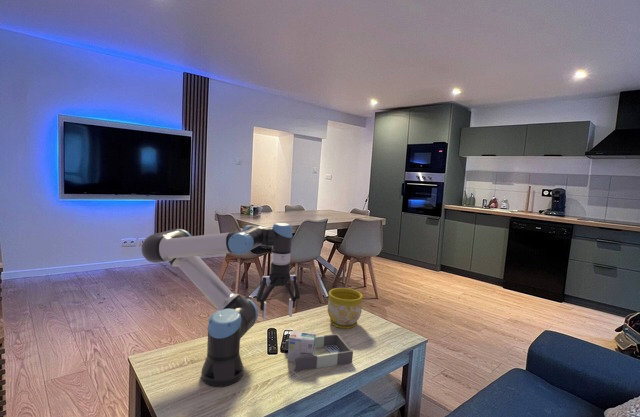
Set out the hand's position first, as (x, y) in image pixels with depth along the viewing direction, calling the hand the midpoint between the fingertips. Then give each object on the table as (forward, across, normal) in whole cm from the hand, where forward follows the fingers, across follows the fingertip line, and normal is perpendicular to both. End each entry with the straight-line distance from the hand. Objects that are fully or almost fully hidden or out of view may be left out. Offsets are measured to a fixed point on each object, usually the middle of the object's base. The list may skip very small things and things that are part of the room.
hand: (277, 316), depth 133 cm
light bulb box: (+20, +12, 0) cm, 23 cm away
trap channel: (+20, +19, 0) cm, 27 cm away
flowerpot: (+20, +44, +26) cm, 55 cm away
